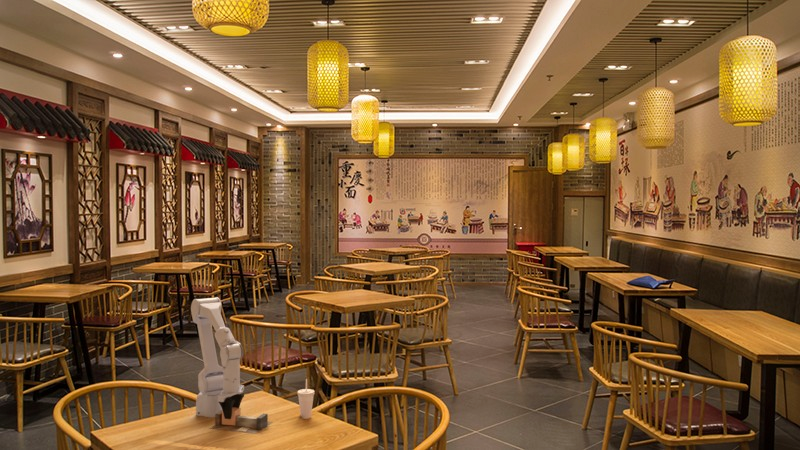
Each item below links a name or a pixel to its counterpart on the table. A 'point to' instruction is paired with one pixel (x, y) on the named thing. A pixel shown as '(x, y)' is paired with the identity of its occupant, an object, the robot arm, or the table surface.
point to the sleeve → (233, 418)
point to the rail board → (231, 427)
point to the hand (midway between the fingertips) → (231, 416)
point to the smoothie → (305, 402)
